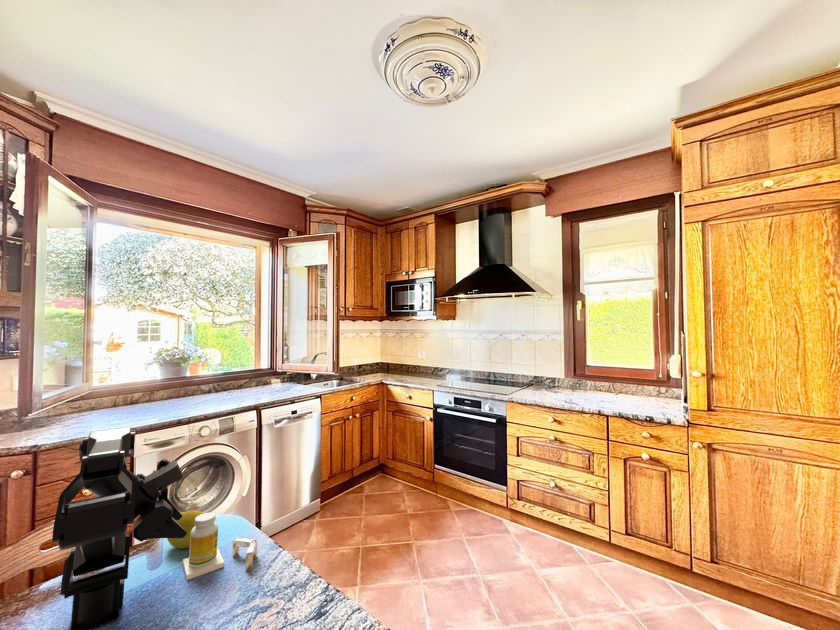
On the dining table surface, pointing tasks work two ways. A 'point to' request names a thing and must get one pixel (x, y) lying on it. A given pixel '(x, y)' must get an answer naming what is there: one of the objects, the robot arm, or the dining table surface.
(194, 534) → the supplement bottle
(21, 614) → the dining table surface
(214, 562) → the cream coaster
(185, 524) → the lemon
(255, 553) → the bent steel bracket
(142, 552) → the dining table surface
